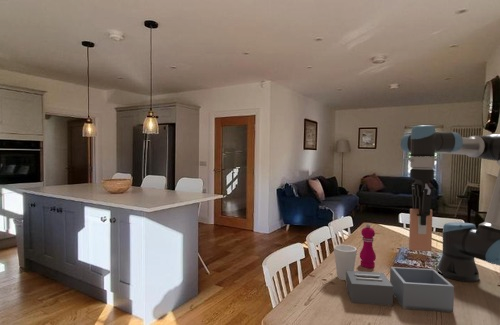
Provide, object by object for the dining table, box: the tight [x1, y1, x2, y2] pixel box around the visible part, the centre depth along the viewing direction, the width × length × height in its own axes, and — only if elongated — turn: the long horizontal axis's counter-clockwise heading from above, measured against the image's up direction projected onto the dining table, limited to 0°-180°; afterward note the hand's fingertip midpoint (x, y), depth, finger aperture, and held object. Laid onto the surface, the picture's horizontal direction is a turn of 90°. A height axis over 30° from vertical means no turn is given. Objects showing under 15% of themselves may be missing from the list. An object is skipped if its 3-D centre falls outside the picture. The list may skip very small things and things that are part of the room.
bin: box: [389, 266, 455, 313], centre depth 110 cm, size 16×15×9 cm
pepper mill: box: [359, 224, 377, 269], centre depth 143 cm, size 7×7×20 cm
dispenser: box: [345, 270, 394, 306], centre depth 113 cm, size 14×12×8 cm
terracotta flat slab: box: [408, 208, 433, 252], centre depth 110 cm, size 7×2×15 cm, turn 81°
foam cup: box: [333, 244, 358, 282], centre depth 130 cm, size 10×9×13 cm
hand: (420, 232), depth 110 cm, fingers closed on terracotta flat slab, 2 cm apart
